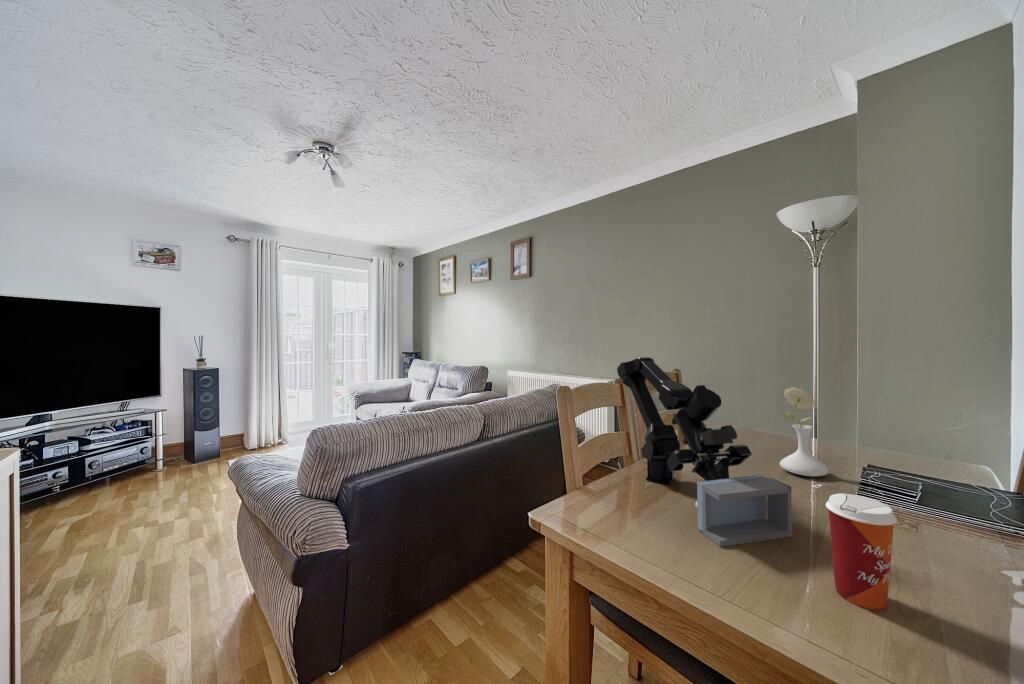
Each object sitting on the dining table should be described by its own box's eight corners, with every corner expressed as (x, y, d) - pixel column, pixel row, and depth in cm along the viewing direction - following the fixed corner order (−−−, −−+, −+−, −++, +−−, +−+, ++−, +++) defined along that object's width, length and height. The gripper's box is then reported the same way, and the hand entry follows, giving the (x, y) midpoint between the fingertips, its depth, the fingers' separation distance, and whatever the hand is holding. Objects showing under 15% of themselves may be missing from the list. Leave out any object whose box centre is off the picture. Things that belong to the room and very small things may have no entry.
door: (693, 525, 81) (693, 479, 81) (759, 515, 84) (759, 472, 84) (702, 531, 78) (702, 484, 78) (770, 521, 82) (769, 476, 82)
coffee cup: (884, 623, 54) (883, 520, 53) (816, 589, 61) (815, 498, 61) (907, 603, 57) (906, 507, 57) (840, 573, 65) (840, 488, 64)
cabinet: (702, 533, 78) (701, 484, 78) (770, 524, 81) (770, 477, 81) (719, 546, 73) (719, 494, 73) (791, 536, 76) (791, 486, 76)
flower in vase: (839, 480, 104) (839, 391, 104) (798, 480, 104) (797, 392, 104) (803, 463, 117) (803, 384, 117) (767, 464, 117) (766, 385, 117)
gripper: (674, 415, 85) (707, 482, 74) (745, 411, 88) (787, 474, 77) (655, 439, 93) (682, 503, 82) (721, 434, 96) (756, 495, 85)
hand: (727, 494), depth 82 cm, fingers closed, pressing on door
